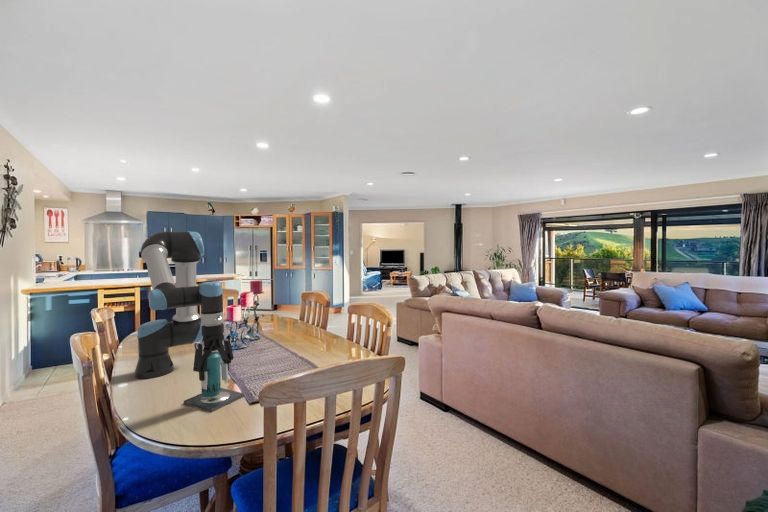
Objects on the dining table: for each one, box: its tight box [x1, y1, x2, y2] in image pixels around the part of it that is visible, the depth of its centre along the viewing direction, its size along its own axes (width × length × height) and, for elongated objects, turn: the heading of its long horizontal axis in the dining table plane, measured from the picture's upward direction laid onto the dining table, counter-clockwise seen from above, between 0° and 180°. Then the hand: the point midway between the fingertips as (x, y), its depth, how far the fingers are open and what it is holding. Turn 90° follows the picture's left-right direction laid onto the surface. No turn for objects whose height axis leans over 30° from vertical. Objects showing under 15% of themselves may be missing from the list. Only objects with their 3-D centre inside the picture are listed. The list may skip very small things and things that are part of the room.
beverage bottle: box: [200, 344, 222, 397], centre depth 137 cm, size 6×7×20 cm
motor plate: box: [183, 387, 245, 413], centre depth 138 cm, size 16×14×1 cm
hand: (215, 384), depth 138 cm, fingers open, 8 cm apart
